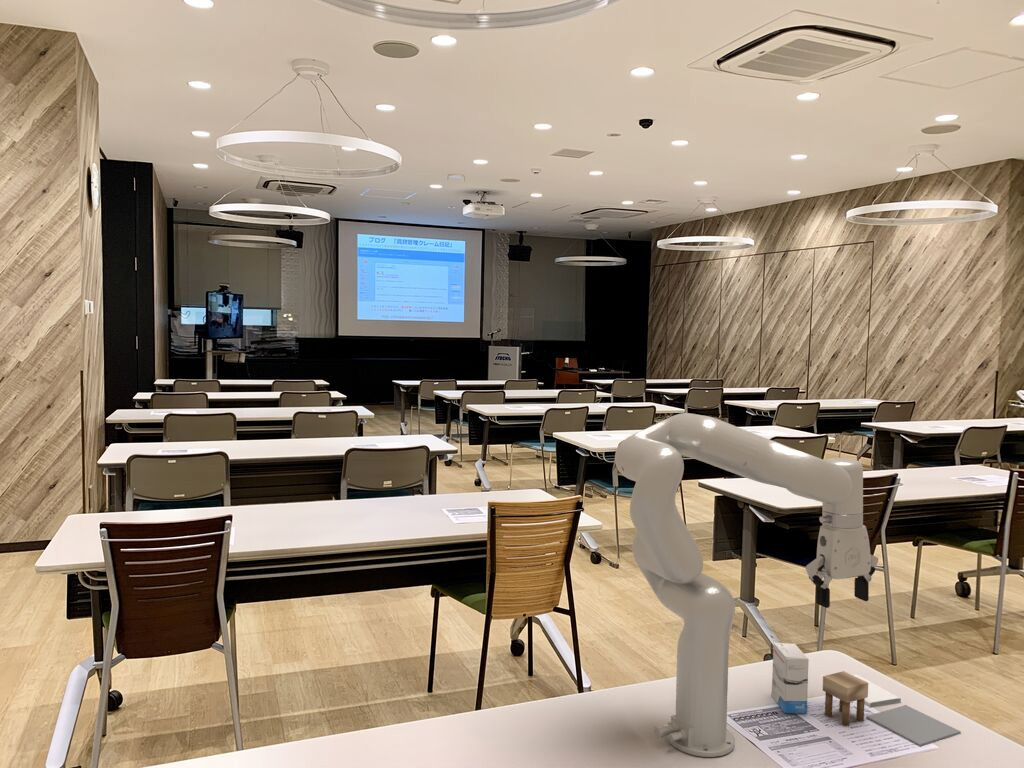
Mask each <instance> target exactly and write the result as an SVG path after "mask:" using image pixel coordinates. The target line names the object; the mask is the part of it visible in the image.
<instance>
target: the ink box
mask: <svg viewBox="0 0 1024 768" xmlns="http://www.w3.org/2000/svg"><path fill="white" fill-rule="evenodd" d="M772 650H773V651H772V652H773V654H772V676H771V697H772V698H773V699H774V701H776V703H777V705H778V707H780V709H781V710H782V712H783V713H784V714H803V715H804V714H807V713H808V688H809V687H808V686H809V685H808V683H809V682H808V681H809V660H810V659H809V658H808V657H807V656H806V654H804V652H803V651H802V650H801V648H799V646H797V644H796V643H787V642H786V643H785V642H774V643H773V649H772Z"/></svg>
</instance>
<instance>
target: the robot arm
mask: <svg viewBox="0 0 1024 768" xmlns="http://www.w3.org/2000/svg"><path fill="white" fill-rule="evenodd" d="M682 456H684V457H686V458H691V459H695V460H697V461H700V462H703V463H705V464H709V465H711V466H713V467H717V468H719V469H722V470H724V471H726V472H730V473H733V474H735V475H737V476H740V477H743V478H745V479H748V480H752V481H754V482H757V483H761V484H765V485H771V486H775V487H780V488H783V489H786V490H787V491H788V492H790V493H791V494H793V495H795V496H798V497H802V498H805V499H809V500H814V501H816V502H819V503H822V505H821V506H822V510H821V511H822V516H820V517H819V519H818V520H819V522H820V523H821V524H822V525H820V527H819V533H818V538H817V543H816V544H817V547H816V558H815V559H813V560H812V561H811V562H809V563H808V564H807V565H806V566H805V567H804V568H805V569H804V570H805V571H806V573H807V576H808V578H809V580H810V581H811V582H812V584H813V585H815V603H816V604H817V605H819V606H821V607H823V608H825V609H828V608H830V606H831V591H830V590H831V589H830V588H829V587H828V586H829V585H830V583H831V581H832V579H833V580H845V579H849V578H854V592H853V593H854V597H855V598H856V599H859V600H861V601H863V602H868V601H869V600H870V599H869V598H870V597H869V595H870V594H869V593H870V592H869V589H870V588H869V584H870V582H871V581H872V580H873V579H872V578H873V577H872V576H873V575H874V573H875V572H876V567H877V565H878V562H879V557H877V556H875V555H873V554H871V547H870V539H869V535H868V534H869V533H868V529H867V526H866V525H864V514H863V513H864V468H863V464H862V463H861V461H859V460H857V459H855V458H849V457H832V458H831V457H830V458H828V459H822V458H820V457H817V456H814V455H812V454H809V453H806V452H804V451H801V450H797V449H795V448H792V447H791V446H787V445H785V444H782V443H780V442H777V441H775V440H772V439H769V438H767V437H763V436H761V435H759V434H756V433H753V432H750V431H748V430H745V429H743V428H740V427H739V426H736V425H734V424H731V423H729V422H726V421H724V420H721V419H719V418H715V417H712V416H709V415H708V416H707V415H703V414H702V415H701V414H696V413H689V412H683V413H678V414H675V415H672V416H670V417H667V418H665V419H663V420H661V421H659V422H657V423H654V424H652V425H650V426H648V427H647V428H645V429H642V430H640V431H638V432H635V433H633V434H632V435H630V436H627V437H626V438H624V440H622V441H621V442H620V443H619V445H618V446H617V448H616V450H615V454H614V463H615V466H616V469H617V471H618V472H619V473H620V474H621V476H623V477H625V478H626V479H628V480H630V481H633V482H635V483H634V484H635V485H634V486H633V489H632V493H631V497H630V504H629V516H630V519H631V520H630V521H632V524H633V526H634V529H635V530H636V533H635V534H634V536H633V538H632V546H631V548H632V549H631V550H632V554H633V557H634V561H635V563H636V565H637V566H638V568H639V569H640V571H641V573H642V574H643V576H644V578H645V579H646V581H647V582H648V584H649V586H650V588H651V590H652V591H653V592H654V594H655V596H656V597H657V599H658V600H659V602H660V603H661V604H662V605H663V606H664V607H665V608H666V609H667V610H669V611H670V612H672V613H673V614H675V615H676V616H678V617H680V618H681V619H682V620H683V624H684V625H683V627H682V630H681V632H680V633H679V634H680V635H679V637H678V640H677V646H676V647H677V648H676V681H675V682H676V683H675V684H676V685H675V686H676V687H675V688H676V689H675V714H673V715H670V722H669V721H668V722H667V723H666V724H665V725H660V726H657V727H654V735H655V737H656V738H657V739H662V738H665V737H667V741H668V742H669V744H671V745H672V746H673V747H675V748H676V749H677V750H679V751H681V752H683V753H686V754H688V755H692V756H697V757H702V758H715V757H717V758H718V757H722V756H725V755H727V754H730V753H731V752H732V751H733V750H734V748H735V743H736V742H735V737H734V734H733V732H731V731H730V730H729V729H728V728H727V727H728V726H727V723H728V722H727V721H728V718H727V717H728V692H729V689H728V685H729V683H728V682H729V655H730V653H729V651H730V638H731V633H732V628H733V623H734V619H735V617H736V604H735V599H734V597H733V595H732V593H731V591H730V589H728V588H727V586H725V585H724V584H723V583H722V582H720V581H718V580H717V579H715V578H713V577H712V576H709V575H707V574H705V573H703V569H704V558H703V555H702V551H701V549H700V547H699V545H698V543H697V542H696V540H695V539H694V537H693V535H692V534H691V532H690V529H689V528H688V526H687V525H686V523H685V521H684V520H683V517H682V516H681V514H680V512H679V510H678V508H677V505H676V504H677V503H676V496H677V495H676V494H677V492H678V489H679V486H680V485H681V484H680V483H681V482H682V479H683V475H684V470H685V467H684V466H685V464H684V459H683V457H682ZM817 572H818V573H817Z"/></svg>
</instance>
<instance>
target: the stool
mask: <svg viewBox="0 0 1024 768" xmlns="http://www.w3.org/2000/svg"><path fill="white" fill-rule="evenodd" d="M853 675H854V674H851V673H849V672H846V671H844V670H842V671H838V672H835V673H831V674H826V675H823V677H822V691H823V692H825V696H824V697H825V699H824V700H825V701H824V716H826V717H828V718H833V705H834V703H833V700H834V697H835V698H836V699H838V700H839V710H838V711H839V712H840V713H841V725H842V726H844V727H849V726H850V716H851V715H850V712H851V703H852V702H855V701H856V712H855V713H856V717H855V719H856V721H857V722H859V723H864V722H865V704H864V703H865V698H867V697H868V682H866V681H864V680H861V679H859V678H857V677H855V676H853Z"/></svg>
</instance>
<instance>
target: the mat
mask: <svg viewBox="0 0 1024 768" xmlns="http://www.w3.org/2000/svg"><path fill="white" fill-rule="evenodd" d="M865 719H867V720H869V721H871V722H872V721H873V723H875V724H877V725H879V726H880V727H882V728H884V729H886V730H888V731H889V732H891V731H892V733H893V734H895V735H897V736H899V737H900V738H901V737H902V738H903V739H904V740H906V741H909V742H910V743H913V744H914V745H916V746H918V747H923V746H926V745H929V744H932V743H936V742H939V741H943V740H945V739H947V738H951V737H954V736H957V735H959V734H961V733H962V732H961V730H959V729H956V728H955V727H952V726H950V725H948V724H946V723H945V722H943V721H940V720H938V719H936V718H934V717H931V716H930V715H928V714H925V713H923V712H921V711H919V710H917V709H915V708H912V707H911V706H908V705H907V704H903V705H901V706H897V707H893V708H890V709H887V710H884V711H880V712H876V713H873V714H869V715H866V716H865Z"/></svg>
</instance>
